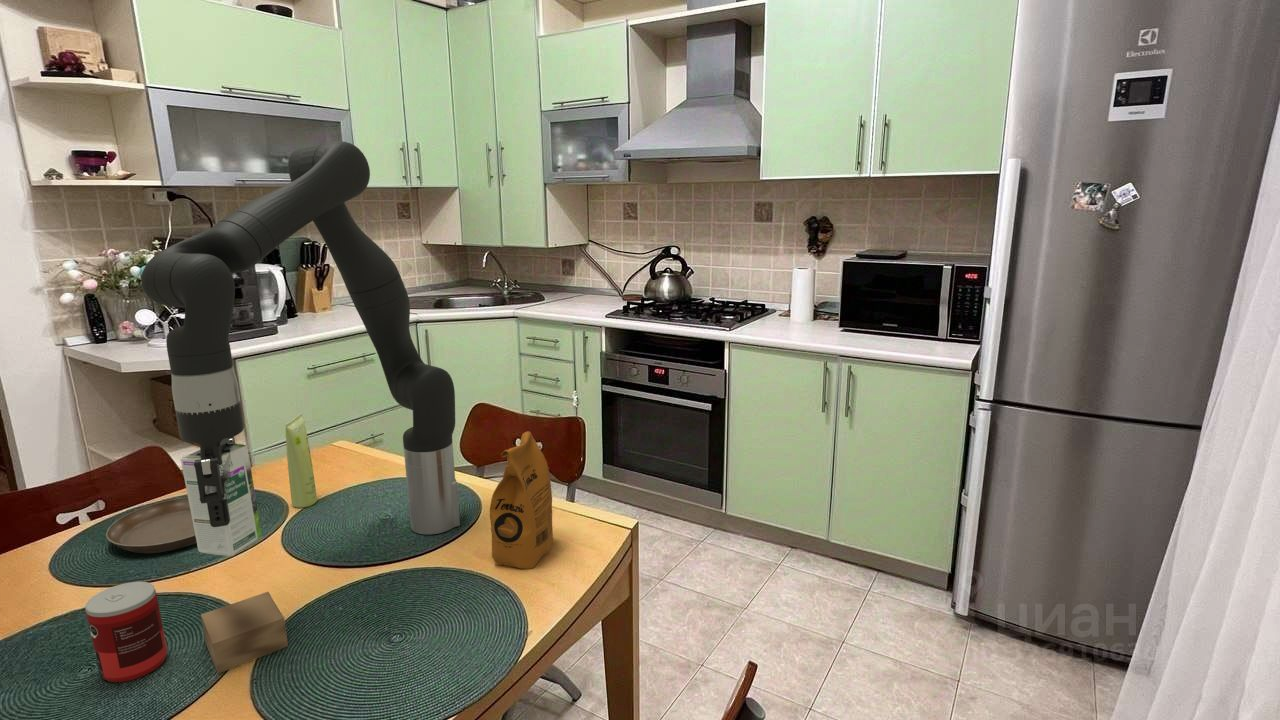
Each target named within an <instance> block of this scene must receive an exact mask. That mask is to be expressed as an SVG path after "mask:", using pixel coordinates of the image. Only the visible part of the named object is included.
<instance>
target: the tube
mask: <svg viewBox="0 0 1280 720" xmlns="http://www.w3.org/2000/svg"><path fill="white" fill-rule="evenodd" d="M285 444H286V445H285V446H286V456H287V459H286V460H287V469H288V479H289V481H288V482H289V489H290V498H291V505H292V507H294V508H297V509H298V508H308V507H311V506H312V505H315V504H316V503H317V501H318V495H317V489H316V488H317V487H316V481H315V474H314V469H313V462H312V454H311V449H310V445H309V438H308V434H307V428H306V424H305V420H304V416H303V412H300V414H298V415H297V416H295V417H294V418H293V419H292V420H290V421H289V422H287V423H286V424H285Z"/></svg>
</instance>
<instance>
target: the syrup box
mask: <svg viewBox="0 0 1280 720" xmlns="http://www.w3.org/2000/svg"><path fill="white" fill-rule="evenodd" d="M226 449H231V452H230V454H231V460H230V461H229V467H230V477H231V480H230V482H229V483H227V485H226V486H227V503H228V509H229V515H230V522H229V524H228V525H226V526H220V527H212V526H211V525H210V519H209V513H208V507H207V503H203V504H201V501H200V495H199V489H198V482H197V476H196V470H195V467H194V463H195V460H200V459H201V455H199V456H197V453H200V449H198V450H196V451H193V452H192V453H189V454H187V455H184V456H182V457H180V463H181V469H182V473H183V478H184V484H185V489H186V495H187V497H188V500H189V505H190V510H191V515H192V520H193V526H194V531H195V536H196V541H197V543H196V546H197V551H198V552H199V553H202V554H203V553H204V554H207V555H209V554H210V555H214V556H215V555H217V556H227V557H233V556H235V555H236V554H237V553H238V552H240V551H242V550H243V549H245V548H246V547H248V546H249V545H251V544H252V543H254V542H256V541H257V540H260V539H261V538H262V536H263V533H262V527H261V522H260V516H259V515H260V514H259V510H258V503H257V498H256V491H255V486H254V485H255V484H254V480H253V478H254V477H253V473H252V467H251V461H250V455H249V450H248V446H247V445H246V444H241V443H236V442H235V443H234V445H233V446H227V447H225V450H226ZM227 458H228V453H224V454H222V465H219V466H220V475H221V476H222V475H223V474H224V466H225V463H226V461H227ZM213 492H217V489H216V486H215V485H211V486H210V493H213Z"/></svg>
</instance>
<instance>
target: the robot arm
mask: <svg viewBox="0 0 1280 720" xmlns="http://www.w3.org/2000/svg"><path fill="white" fill-rule="evenodd" d="M287 165H288V166H287V167H288V170H287V171H288V175H289V178H290V181H291V182H289V183H287V184H285V185H283V186H281V187H279V188H277V189H275V190H273V191H270V192H268V193H266V194H263V195H261V196H259V197H257V198H255V199H252V200H251V201H249V202H247V203H245V204H243V205H242V206H239V207H238V208H237V209H236V210H234V211H232V212H230V214H228V215H226V216H225V217H224V218H222V219H221V220H220V221H218V222H217V223H215V224H214V225H213V226H212V227H210V228H209V229H207V230H205V231H203V232H200V233H198V234H195V235H193V236H190V237H187V238H186V239H184V240H181V241H179V242H176V243H175V244H172V245H170V246H168V247H167V248H164V249H162V250H161V251H159V252H158V253H156V254H155V255H153V256H152V257H151V259H150V260H149V261H148V262H147V263H146V264H145V266H144V267H143V270H142V272H141V277H140V281H141V282H140V283H141V287H142V290H143V292H144V293H145V295H146V296H147V297H148V298H149V299H150V300H152V301H153V302H155V303H157V304H159V305H161V306H162V305H163V306H166V307H170V308H171V307H172V308H184V320H183V325H180V326H177V327H175V328H172V329H171V330H170V331H169V332H168V333H167V335H166V339H165V341H166V343H165V344H166V351H167V356H168V358H167V359H168V362H169V369H170V373H171V375H170V376H171V393H172V398H173V399H172V400H173V404H174V405H173V406H174V412H175V416H176V422H177V427H178V428H177V429H178V433H179V437H180V439H181V441H183V442H186V443H188V444H192V443H193V444H196V445H199V446H200V448H199V450H200V453H197V456H199V455H201V459H200V460H195V463H194V467H195V470H196V476H197V482H198V489H199V495H200V501H201V504H203V503H207V507H208V513H209V519H210V525H211V526H212V527H220V526H226V525H228V524H229V522H230V515H229V509H228V503H227V486H226V485H227V483H229V482H230V480H231V477H230V467H229V461H230V460H231V454H230V452H231V449H226V450H225V447H227V446H233V445H234V443H236V440H235V437H236V436H238V435H239V434H241V433H242V432H243V431H244V429H245V421H244V415H243V414H244V413H243V409H242V403H241V402H242V401H241V396H240V389H239V383H238V379H237V376H236V373H235V370H234V369H235V368H234V363H233V356H232V350H231V345H230V338H229V336H230V330H231V324H232V319H233V311H234V304H235V303H234V302H235V297H236V285H235V281H234V277H233V275H232V274H236V273H242V272H245V271H248V270H249V269H251V268H253V267H255V266H256V265H257V264H258V263H259V262H260V261H262V260H263V259H264V258H265V257H267V256H268V255H269V254H270V253H272V252H273V251H274V250H275V249H276V248H278V247H279V246H280V245H281V244H283V242H285V241H287V240H288V239H289V238H290V237H291V236H293V235H295V234H296V233H297V232H298V231H300V230H301V229H302V228H304V227H305V226H307V225H308V224H310V223H311V222H313V224H314V225H315V227H316V228H317V231H318V232H319V234H320V236H321V238H322V239H323V242H324V244H325V245H326V247H327V249H328V252H329V253H330V255H331V257H332V260H333V262H334V263H335V265H336V268H337V269H338V272H339V273H340V275H341V279H342V280H343V283H344V285H345V288H346V290H347V292H348V295H349V296H350V299H351V301H352V303H353V305H354V307H355V310H356V311H357V313H358V315H359V317H360V319H361V322H362V324H363V326H364V328H365V330H366V332H367V334H368V337H369V339H370V340H371V343H372V344H373V346H374V348H375V350H376V353H377V356H378V358H379V361H380V364H381V368H382V372H383V374H384V377H385V379H386V383H387V386H388V388H389V391H390V395H391V396H392V398H393V399H394V401H395V402H396V403H397V404H398V405H400V406H401V407H403V408H405V409H407V410H411V411H412V426H411V427H409V428H407V429H406V430H405V431H404V432H403V435H402V443H403V445H402V446H403V455H404V467H405V478H406V487H407V488H406V489H407V490H406V491H407V500H408V511H409V522H410V523H409V524H410V528H411V531H413V532H414V533H416V534H418V535H437V534H442V533H445V532H448V531H450V530H452V529H454V528H456V527H460V526H461V521H460V506H459V493H458V492H459V491H458V490H459V489H458V483H457V482H458V481H457V480H456V473H455V472H456V471H455V459H454V458H455V457H454V444H453V434H454V431H455V428H456V394H455V393H456V392H455V385H454V384H455V383H454V382H453V378H452V377H451V374H450V373H449V372H448V371H446V369H443V368H442V367H438V366H435V365H430V364H427V363H425V362H424V361H423V360H422V358H421V356H420V355H419V353H418V351H417V348H416V346H415V343H414V341H413V339H412V335H411V333H410V332H411V330H410V318H411V315H410V314H411V305H410V304H411V303H410V297H409V294H408V291H407V289H406V286H405V283H404V282H403V279H402V277H401V274H400V272H399V269H398V267H397V266H396V264H395V262H394V261H393V259H392V258H391V257H390V256H389V255H388V253H386V252H385V251H384V250H383V249H382V248H381V247H380V246H379V245H378V244H377V243H376V242H375V241H373V240H372V239H371V238H370V237H369V236H368V235H367V234H366V233H365V232H364V231H363V230H362V229H361V228H360V227H359V225H358V224H357V222H356V221H355V220H354V218H353V216H352V215H351V213H350V211H349V208H348V206H347V205H346V202H348V201H350V200H352V199H354V198H356V197H359V196H360V195H361V194H362V193H364V191H366V189H367V188H368V185H369V183H370V179H371V170H370V165H369V162H368V159H367V158H366V156H365V154H364V152H362V150H361V149H360V148H358V146H356V145H355V144H353V143H351V142H347V141H342V140H334V141H327V142H326V141H325V142H322V143H316V144H310V145H307V146H300V147H299V148H296V149H294V150H293V151H292V152H291V153H290V155H289V159H288V162H287ZM224 453H228V458H227V461H226V463H225V466H224V474H223V475H222V476H221V475H220V466H219V465H222V454H224ZM211 485H215V486H216V489H217V492H213V493H210V486H211Z"/></svg>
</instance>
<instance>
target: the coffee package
mask: <svg viewBox="0 0 1280 720" xmlns="http://www.w3.org/2000/svg"><path fill="white" fill-rule="evenodd" d="M500 457H501V458H506V461H507V463H508V464H507V465H506V466H505V469H504V472H503V475H502V479H501V480H500V481H499V482H498V483H497V486H496V488H495V489H494V491H493V493H492V496H491V500H490V506H489V520H490V521H489V523H490V529H491V558H492V560H493V561H494V563H495V564H496V565H498V566H502V565H504V566H508V567H511V568H512V567H513V568H516V569H519V570H522V569H525V570H529V569H530V570H531V569H533V568H535V567H536V565H537V564H538V563H539V561H540V559H541V558H542V557H544V556H546V555H547V554H549V552H550V550H551V546H552V544H553V542H554V533H553V492H552V484H551V476H550V469H549V464H548V461H547V459H546V458H545V455H544V453H543V452H542V450H541V449H540V447H539V444H538V443H537V441H536V439H534V437H533V435H532V433H531V431H529V430H528V431H525V432H523V433H522V435H521V436H520V442H519V445H517V446H513V447H510V448H509V449H505V450H503V452H502V453H501V454H500Z"/></svg>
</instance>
